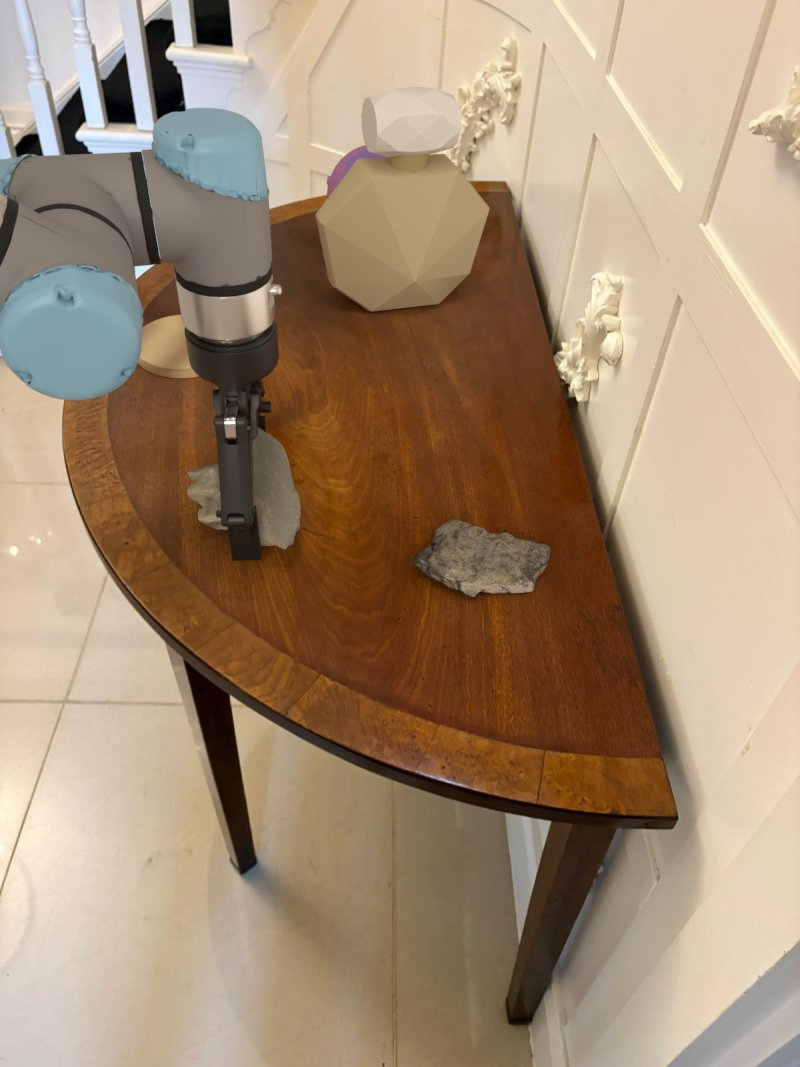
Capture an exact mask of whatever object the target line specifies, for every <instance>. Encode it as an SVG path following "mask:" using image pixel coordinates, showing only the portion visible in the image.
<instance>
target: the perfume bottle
mask: <svg viewBox="0 0 800 1067" xmlns="http://www.w3.org/2000/svg"><path fill="white" fill-rule="evenodd" d="M360 116H361V117H360V118H361V131H362V137H363V142H364V145H366V147H367V149H368V151H369V152H372V153H375V154H379V155H383V156H386V157H381V158H364V159H357V160H356V162H355V163H354V164H353V166H352V167H351V168H350V170H349V171H348V172H347V173H346V175H345V176H344V177H343V179H342V180H341V181H340V183H339V184H338V185H337V187H336V188H335V189H334V191H333V192H332V193H331V195H330V196H329V197H328V199H327V198H326V200H325V201H324V202H323V203H322V205H321V206H320V208H319V209H318V211H317V212H316V213H315V220H316V225H317V230H318V235H319V240H320V244H321V250H322V254H323V260H324V265H325V270H326V275H327V279H328V282H329V283H330V285H331V287H332V288H333V289H334V290H336V291H338V292H340V293H341V294H342V295H344V296H345V297H346V298H348V299H350V300H351V301H352V302H353V303H355V304H357V305H358V306H360V307H361V308H362V309H364V310H366V311H367V312H371V313H372V312H379V311H389V310H397V309H398V310H399V309H406V308H415V307H424V306H433V305H440V304H441V303H442V302H443V301H444V300H445V299H446V298H447V297H448V296H449V295H450V294H451V293H452V292H453V291H454V290H455V289H456V288H457V287H458V286H459V285H460V284H461V283H462V282H463V281H464V280H465V279H467V277H468V276H469V275H470V274H471V272H472V268H473V265H474V262H475V258H476V255H477V251H478V249H479V245H480V242H481V238H482V235H483V232H484V228H485V227H486V226H485V225H486V223H487V220H488V216H489V212H490V209H491V208H490V206H489V205H488V204H487V203H486V202H485V200H484V199H483V198H482V196H481V195H480V194H479V193H478V191H477V190H476V189H475V187H474V186H473V185H472V184H471V183H470V181H469V180H468V178H467V177H466V176H465V175H464V174H463V172H462V171H461V170H460V169H459V168H458V166H457V164H455V163H454V162H453V161H452V160H451V159H450V158H449V157H448V156H447V154H445V153H439V152H443V151H448V150H450V149H454V148H455V147H456V145H457V144H458V143H459V138H460V134H461V124H462V123H461V120H462V119H461V111H460V108H459V102H458V100H457V99H456V97H455V95H454V94H452V93H450V92H446V91H444V90H441V89H438V88H435V87H422V86H409V87H400V88H393V89H388V90H385V91H382V92H379V93H376V94H372V95H369V96H368V95H367V96H366V97H365V99H364V100H363V103H362V106H361V114H360Z"/></svg>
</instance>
